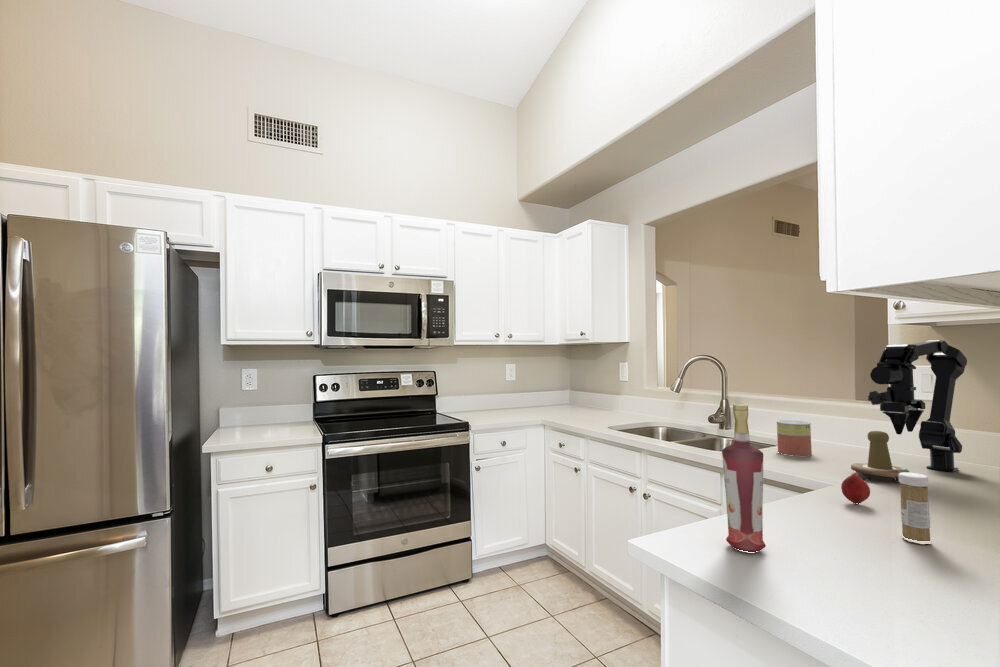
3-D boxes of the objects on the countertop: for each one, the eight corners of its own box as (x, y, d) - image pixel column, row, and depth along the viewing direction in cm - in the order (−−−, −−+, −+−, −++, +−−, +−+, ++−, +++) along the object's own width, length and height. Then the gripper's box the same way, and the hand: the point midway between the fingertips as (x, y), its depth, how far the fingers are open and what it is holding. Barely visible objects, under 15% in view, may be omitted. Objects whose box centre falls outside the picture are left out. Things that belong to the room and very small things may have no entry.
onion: (858, 509, 115) (857, 476, 115) (836, 502, 120) (834, 470, 121) (876, 506, 116) (874, 474, 117) (853, 500, 122) (851, 469, 122)
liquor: (770, 559, 87) (764, 407, 88) (726, 553, 89) (721, 406, 91) (764, 544, 94) (758, 404, 95) (723, 539, 96) (719, 403, 98)
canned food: (817, 456, 175) (816, 424, 175) (785, 456, 176) (784, 424, 177) (803, 451, 186) (802, 420, 186) (772, 450, 188) (771, 420, 188)
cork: (897, 470, 140) (894, 433, 141) (873, 469, 142) (871, 432, 142) (885, 465, 146) (883, 430, 147) (863, 464, 147) (861, 429, 148)
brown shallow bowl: (862, 470, 153) (861, 458, 154) (917, 479, 141) (917, 466, 142) (843, 476, 146) (842, 464, 146) (900, 486, 134) (899, 473, 134)
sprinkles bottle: (902, 535, 98) (898, 470, 98) (932, 541, 95) (928, 473, 95) (901, 542, 94) (897, 474, 95) (932, 548, 91) (927, 478, 92)
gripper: (882, 381, 161) (884, 427, 160) (859, 383, 151) (861, 432, 150) (924, 383, 152) (927, 431, 151) (902, 385, 142) (905, 437, 141)
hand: (904, 433), depth 148 cm, fingers open, 9 cm apart
